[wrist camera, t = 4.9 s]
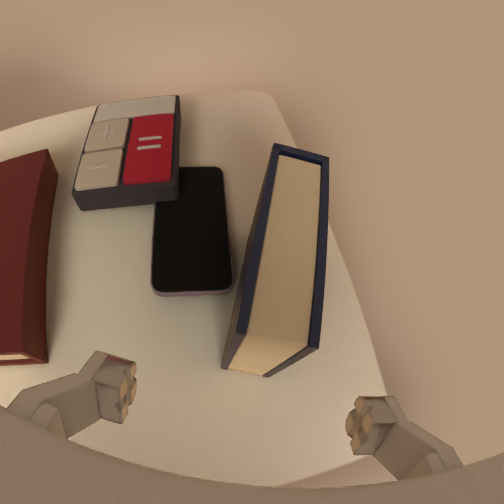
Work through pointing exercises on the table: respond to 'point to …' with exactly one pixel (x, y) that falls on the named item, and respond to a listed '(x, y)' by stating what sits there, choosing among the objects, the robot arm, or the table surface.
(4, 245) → the encyclopedia
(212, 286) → the smartphone
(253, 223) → the hardcover book
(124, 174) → the calculator
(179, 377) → the table surface
